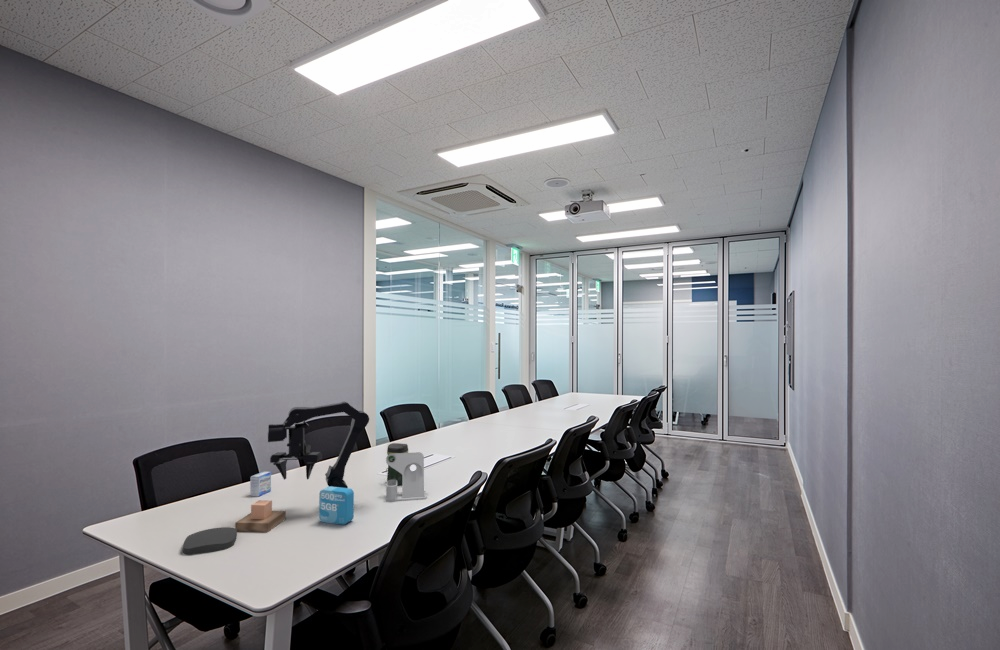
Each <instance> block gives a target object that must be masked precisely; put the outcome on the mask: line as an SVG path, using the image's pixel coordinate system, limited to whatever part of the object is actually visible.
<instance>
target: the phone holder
mask: <svg viewBox="0 0 1000 650" xmlns="http://www.w3.org/2000/svg"><path fill="white" fill-rule="evenodd" d="M390 456H394V457H395V460H394V462H389V460H388V458H389V457H390ZM424 456H425V455H424V454H423V452H417V451H416V452H408V453H395V454H389V455H387V456H386V458H385V463H386V465H389V466H390V467H392V468H393V469H395V470H396V471H398V472H399V473H401V474H402V487H401V488H402V490H401V491H398V485H397V480H388V481H387V480H386V483H385V485H386V487H385V488H386V490H385V492H386V493H385V494H386V495H385V501H386V502H388V503H389V502H390V503H392V502H402V501H403V502H404V501H405V502H406V501H407V502H408V501H418V500H419V501H421V500H427V498H428V495H427V494H428V493H427V491H426V490H425V475H424V474H425V462H424V461H425V459H424V458H425V457H424ZM412 465H414V466H415V467H416V469H415V470H411V466H412Z"/></svg>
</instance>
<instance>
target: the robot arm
mask: <svg viewBox="0 0 1000 650" xmlns="http://www.w3.org/2000/svg"><path fill="white" fill-rule="evenodd" d="M339 413H345V414H346V415H348V416H349V417H350V418H351V421H350V422H351V423H350V430H349V432H348V434H347V436H346V439H345V441H344V443H343V446H342V448H341V449H340V452H339V455H338V457H337V459H336V462H335V463H334V464H333V465H332V466H331V465H329V466H328V469H327V471H326V473H325V474H324V475H325V481H326V484H327V487H329V486H331V487H341V488H349V487H348V484H347V483H346V481H345V480H344V477H345V471H346V465H347V464H348V462H349V460H350V456H351V454H352V453H353V452H352V451H353V450H354V448H355V446H356V443H357V441H358V438H359V437H360V435H361V433H362V432H363V431H365V428H366V427H367V426H368V424H369V422H370V417H369V415H368V414H367V413H366V412H365V411H363V410H357V409H356V408H355V407H354V406H352V405H351V404H350V403H348V401H341V402H337V403H332V404H325V405H318V406H311V407H310V406H309V407H308V406H294V407H292V408H290V410H289V411H288V414H287V415H288V416H287V418H286V419H285V420H283V423H278V424H277V423H276V424H275V423H274V424H273V423H270V424H269V423H268V432H267V443H276V442H284V441H285V440H286V439H287V435H288V442H287V444H286V446H287V447H288V453H286V451H285V452H283V451H281V452H280V451H279V452H278V451H277V452H275V453H274V454H273V453H272V454H271V456H270V458H269V462H270V464H273V466H276V468H277V469H278V470H279V473H280V474H281V476H282V479H283V480H286V479H287V462H288V461H290V460H295V461H296V460H299V461H300V460H306V461H307V462H305V471H306V472H305V473H306V474H305V475H306V476H305V477H306V480H309V479H310V478H311V477H310V476H311V474H312V471H313V469H314V466H315V464H316V463H318V462H320V461H322V460H323V453H322V452H321V451H312V452H311V447H312V445H310V444H308V443H307V441H306V440H305V429H308V428H310V425H309V424H308V423H307V422H306V421H308V420H310V419H314V418H317V417H322V416H328V415H329V416H330V415H334V414H339Z"/></svg>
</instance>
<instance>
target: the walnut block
mask: <svg viewBox="0 0 1000 650" xmlns="http://www.w3.org/2000/svg"><path fill="white" fill-rule="evenodd" d="M286 515H287V513H286V510H272V514H271V515H270V516H268V517H267V518H266V519H251V512H249V513H248V514H247V515H245V516H244V517H242V518H240V519H239V520H237V521H236V522H235V525H234V528H236V529H237V532H249V531H254V532H255V533H257V532H259V533H260V532H261V533H270V531H272V530H273V529H274V528H275V526H276V527H277V526H278V525H280V524H281V523H282V522H283V520H284V521H285V520H286V518H287V517H286ZM279 523H280V524H279ZM271 529H272V530H271Z"/></svg>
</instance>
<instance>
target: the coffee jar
mask: <svg viewBox="0 0 1000 650" xmlns="http://www.w3.org/2000/svg"><path fill="white" fill-rule="evenodd" d="M386 453H387V454H386V455H387V456H388V455H389V454H395V453H409V445H408V444H407V443H395V442H394V443H390V444H387V449H386ZM388 460H389V462H394V460H395V457H394V456H390V457H389V458H388ZM388 480H397V486H401V485H402V474H401V473H399V472H398V471H396V470H395V469H393V468H392V467H390V466H389V465H388V466H387V474H386V482H387V481H388Z"/></svg>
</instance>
